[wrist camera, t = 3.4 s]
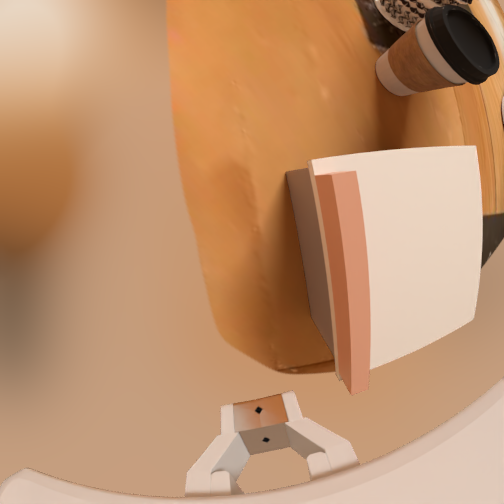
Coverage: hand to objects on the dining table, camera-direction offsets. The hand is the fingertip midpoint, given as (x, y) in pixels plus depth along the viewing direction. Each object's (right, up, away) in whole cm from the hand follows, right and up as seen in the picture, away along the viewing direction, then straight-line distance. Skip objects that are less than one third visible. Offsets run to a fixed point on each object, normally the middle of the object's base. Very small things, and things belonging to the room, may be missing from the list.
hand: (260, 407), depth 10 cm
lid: (+13, +6, +10) cm, 18 cm away
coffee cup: (+17, +28, +15) cm, 36 cm away
